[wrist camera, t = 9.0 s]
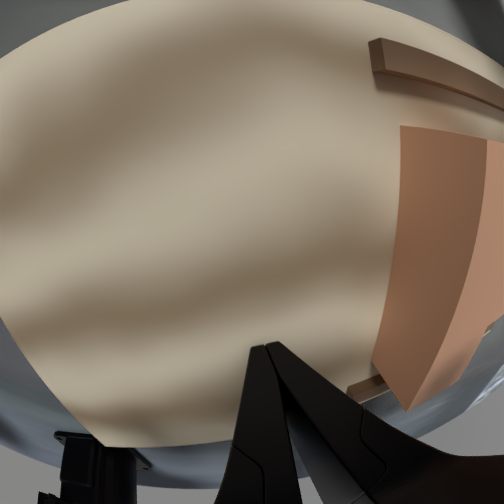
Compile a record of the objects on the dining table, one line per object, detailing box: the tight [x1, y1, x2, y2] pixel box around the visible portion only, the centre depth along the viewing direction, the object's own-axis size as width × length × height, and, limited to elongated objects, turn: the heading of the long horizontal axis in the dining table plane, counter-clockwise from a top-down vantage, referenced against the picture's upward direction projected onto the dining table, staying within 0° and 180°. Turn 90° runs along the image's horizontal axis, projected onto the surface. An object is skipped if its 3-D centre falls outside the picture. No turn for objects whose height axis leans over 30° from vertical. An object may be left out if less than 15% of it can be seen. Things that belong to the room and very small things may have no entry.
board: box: [0, 0, 504, 447], centre depth 11 cm, size 22×34×2 cm, turn 96°
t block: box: [371, 125, 504, 412], centre depth 10 cm, size 12×12×4 cm
